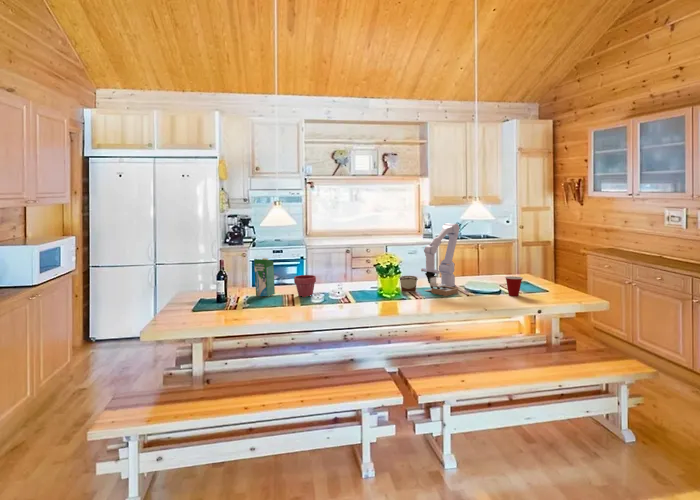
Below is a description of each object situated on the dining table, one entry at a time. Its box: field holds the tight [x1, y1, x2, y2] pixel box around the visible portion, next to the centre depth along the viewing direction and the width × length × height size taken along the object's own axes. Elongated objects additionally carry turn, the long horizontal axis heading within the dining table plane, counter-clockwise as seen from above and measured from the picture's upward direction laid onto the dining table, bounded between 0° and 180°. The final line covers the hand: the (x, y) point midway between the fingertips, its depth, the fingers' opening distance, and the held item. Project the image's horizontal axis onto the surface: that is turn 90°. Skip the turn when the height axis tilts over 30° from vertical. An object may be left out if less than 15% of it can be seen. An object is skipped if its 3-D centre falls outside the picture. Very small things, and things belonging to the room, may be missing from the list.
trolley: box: [429, 275, 446, 289], centre depth 319 cm, size 7×9×8 cm
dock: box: [423, 286, 459, 297], centre depth 318 cm, size 12×21×4 cm, turn 40°
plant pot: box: [293, 274, 317, 298], centre depth 316 cm, size 14×14×13 cm
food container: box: [399, 275, 419, 293], centre depth 323 cm, size 12×6×10 cm, turn 84°
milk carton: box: [253, 257, 276, 297], centre depth 320 cm, size 9×9×25 cm
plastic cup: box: [504, 275, 524, 297], centre depth 304 cm, size 11×11×12 cm
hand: (430, 283), depth 324 cm, fingers closed
